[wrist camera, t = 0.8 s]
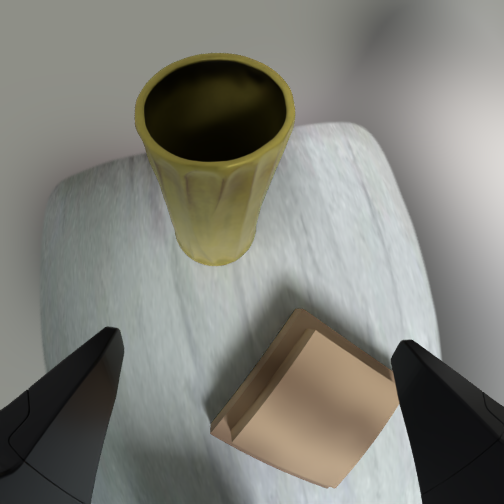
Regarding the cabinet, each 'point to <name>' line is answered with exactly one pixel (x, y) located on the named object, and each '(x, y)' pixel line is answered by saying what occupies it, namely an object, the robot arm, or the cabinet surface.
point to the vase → (215, 147)
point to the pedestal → (309, 403)
